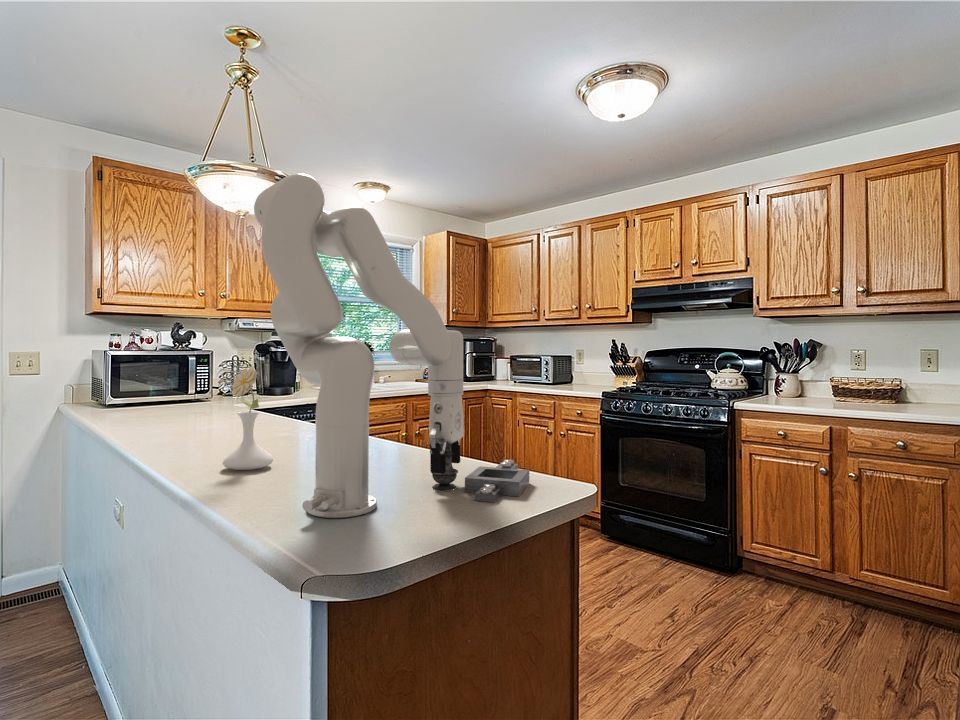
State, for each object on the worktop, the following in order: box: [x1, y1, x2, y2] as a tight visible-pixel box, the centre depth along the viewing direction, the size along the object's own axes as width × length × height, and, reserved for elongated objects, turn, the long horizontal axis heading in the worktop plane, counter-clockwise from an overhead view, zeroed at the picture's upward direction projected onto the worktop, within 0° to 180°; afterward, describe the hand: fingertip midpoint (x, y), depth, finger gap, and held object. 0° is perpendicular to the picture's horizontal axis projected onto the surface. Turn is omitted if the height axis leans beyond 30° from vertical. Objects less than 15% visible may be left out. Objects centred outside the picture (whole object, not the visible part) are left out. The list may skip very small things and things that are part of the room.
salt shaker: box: [431, 441, 459, 492], centre depth 115 cm, size 6×6×12 cm
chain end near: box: [464, 476, 530, 503], centre depth 112 cm, size 17×12×2 cm, turn 165°
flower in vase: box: [222, 366, 274, 471], centre depth 130 cm, size 13×11×25 cm
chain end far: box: [464, 459, 530, 489], centre depth 118 cm, size 17×12×4 cm, turn 165°
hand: (445, 467), depth 115 cm, fingers open, 9 cm apart
